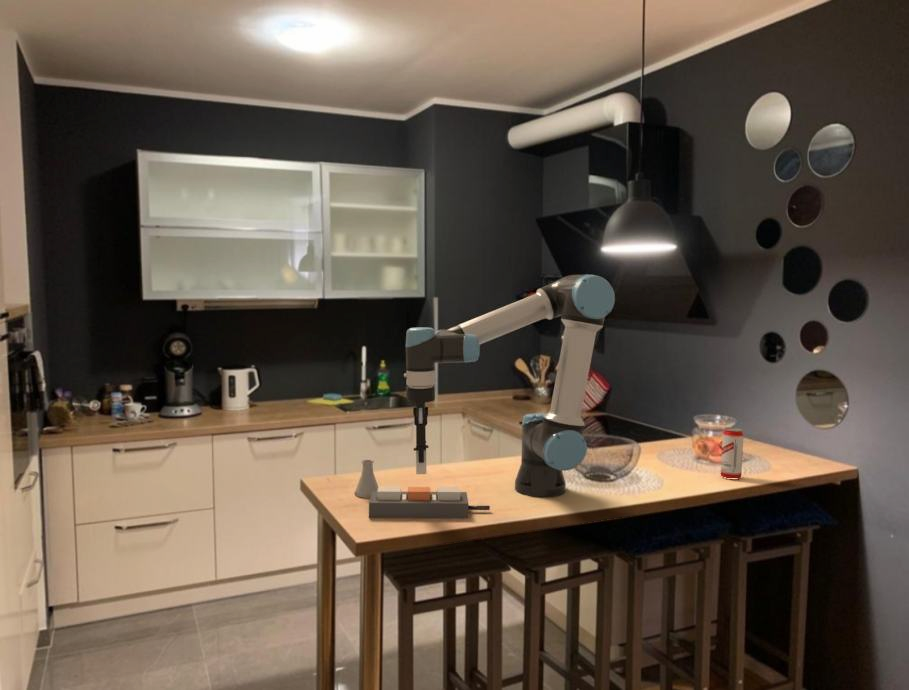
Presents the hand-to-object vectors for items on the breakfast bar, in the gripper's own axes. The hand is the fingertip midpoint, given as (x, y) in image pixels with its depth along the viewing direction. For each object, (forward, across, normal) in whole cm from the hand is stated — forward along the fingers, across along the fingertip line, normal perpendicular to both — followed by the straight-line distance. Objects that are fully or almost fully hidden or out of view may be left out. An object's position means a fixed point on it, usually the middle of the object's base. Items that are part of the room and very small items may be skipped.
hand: (421, 473), depth 191 cm
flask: (+11, -15, -16) cm, 24 cm away
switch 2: (+8, 0, -1) cm, 8 cm away
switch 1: (+8, 0, -9) cm, 12 cm away
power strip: (+11, 0, +2) cm, 11 cm away
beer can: (+13, -35, +99) cm, 106 cm away
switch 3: (+9, 0, +7) cm, 11 cm away
